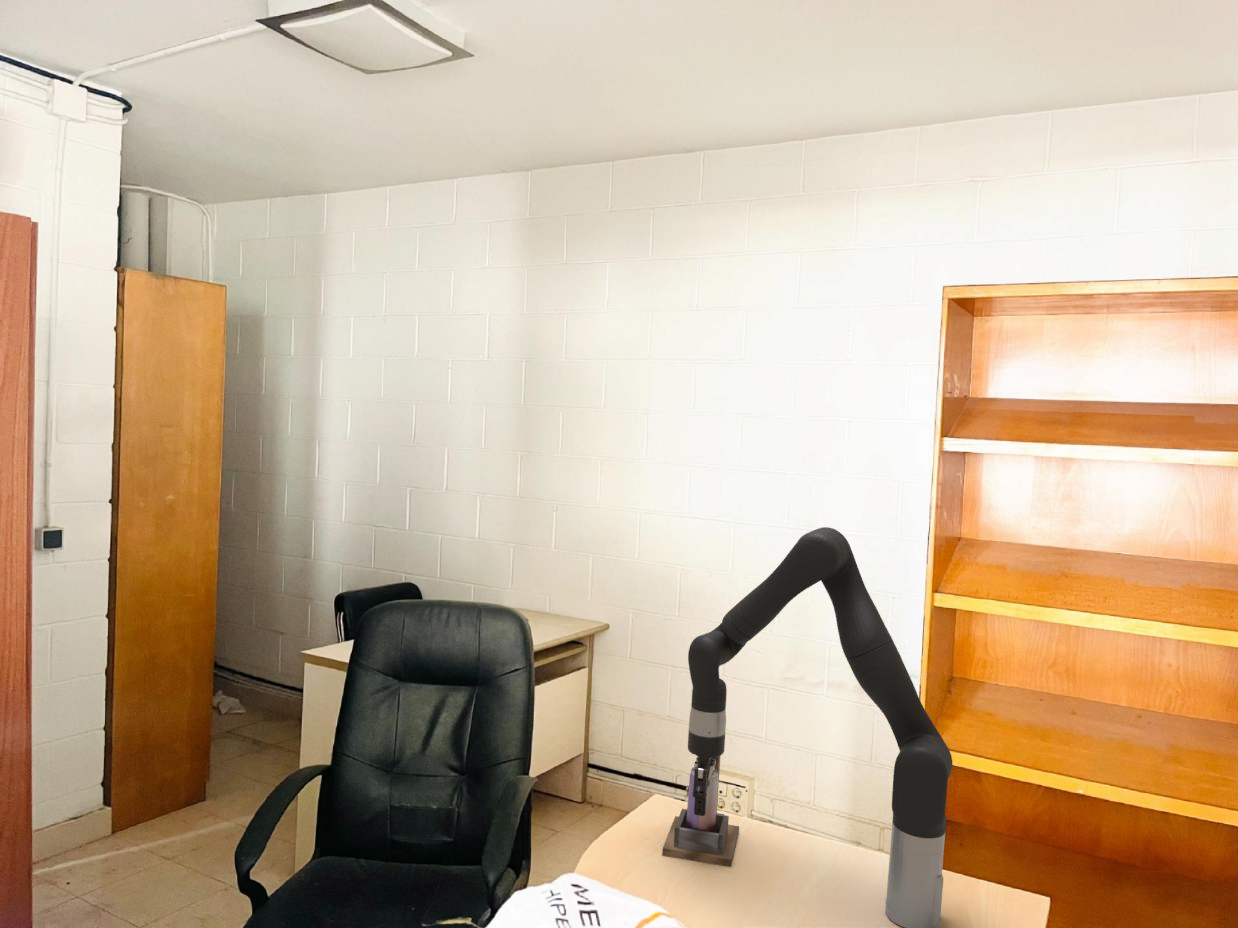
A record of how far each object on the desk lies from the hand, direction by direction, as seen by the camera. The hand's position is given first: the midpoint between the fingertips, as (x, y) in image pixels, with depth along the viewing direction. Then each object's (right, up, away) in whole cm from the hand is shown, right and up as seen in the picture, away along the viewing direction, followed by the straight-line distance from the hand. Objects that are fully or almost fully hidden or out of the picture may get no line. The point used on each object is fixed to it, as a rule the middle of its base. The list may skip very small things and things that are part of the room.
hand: (702, 806), depth 189 cm
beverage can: (0, -8, +1) cm, 8 cm away
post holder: (0, -9, +3) cm, 10 cm away
